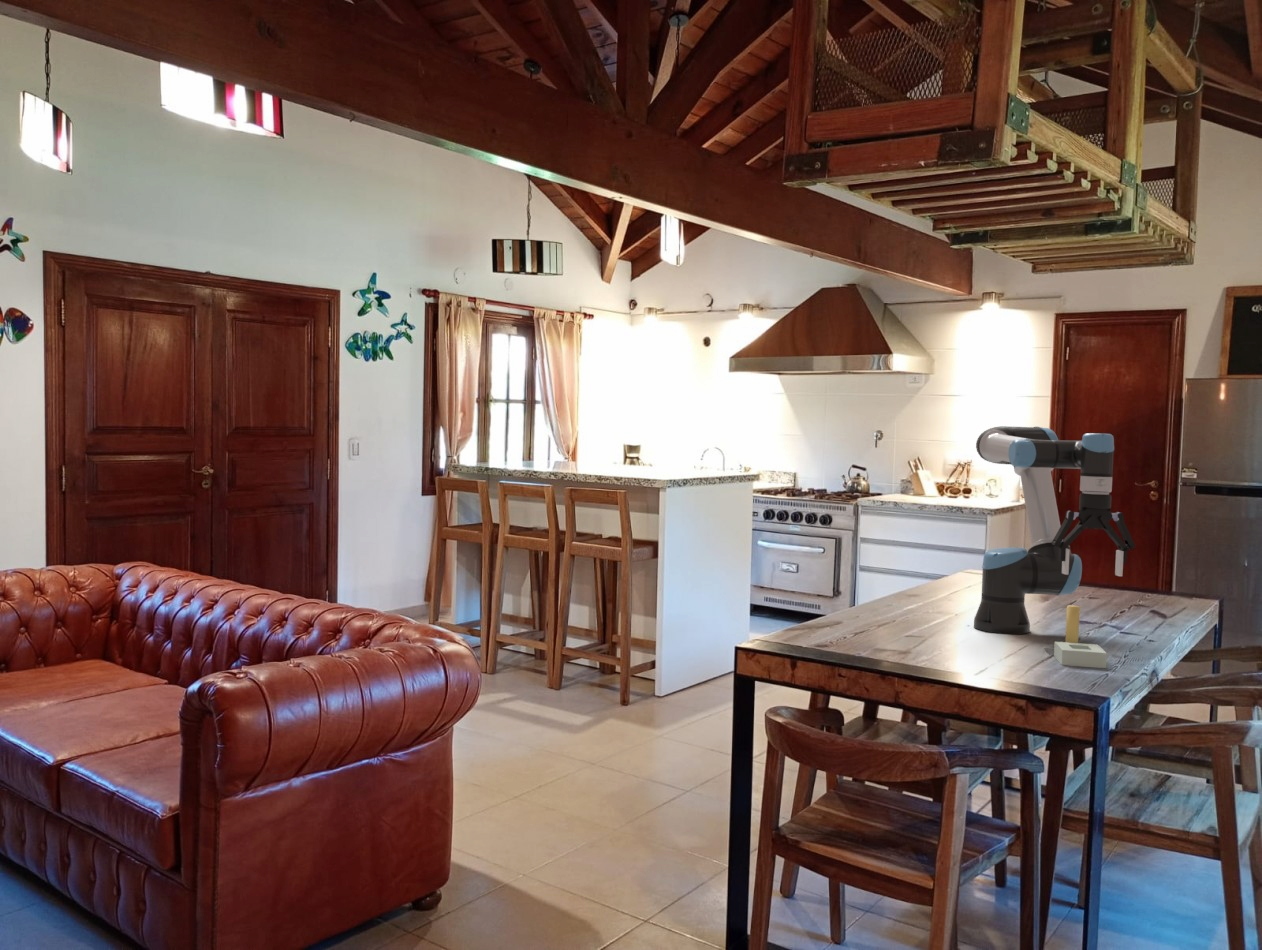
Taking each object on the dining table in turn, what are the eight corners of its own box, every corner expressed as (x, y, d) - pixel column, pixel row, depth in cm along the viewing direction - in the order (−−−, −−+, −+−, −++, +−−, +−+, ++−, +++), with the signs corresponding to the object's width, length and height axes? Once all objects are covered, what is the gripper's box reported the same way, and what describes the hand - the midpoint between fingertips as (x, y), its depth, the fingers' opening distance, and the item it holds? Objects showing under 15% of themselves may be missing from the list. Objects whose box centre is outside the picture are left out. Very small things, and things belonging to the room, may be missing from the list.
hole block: (1061, 666, 244) (1062, 649, 244) (1053, 657, 254) (1054, 641, 253) (1106, 669, 242) (1107, 653, 241) (1096, 660, 251) (1097, 644, 251)
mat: (1048, 656, 255) (1049, 654, 255) (1043, 649, 263) (1043, 647, 263) (1100, 659, 252) (1100, 658, 252) (1092, 653, 260) (1092, 651, 260)
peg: (1066, 653, 256) (1068, 607, 256) (1063, 651, 259) (1066, 605, 259) (1078, 654, 256) (1081, 607, 255) (1076, 652, 258) (1078, 605, 258)
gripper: (1051, 492, 257) (1047, 575, 258) (1151, 495, 256) (1147, 578, 256) (1041, 490, 264) (1037, 571, 265) (1138, 493, 263) (1134, 574, 264)
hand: (1091, 575), depth 261 cm, fingers open, 13 cm apart
